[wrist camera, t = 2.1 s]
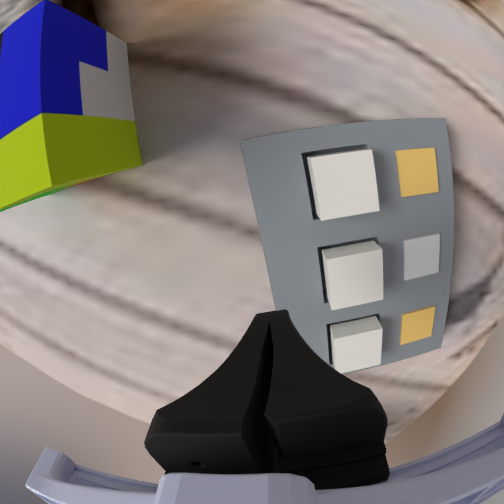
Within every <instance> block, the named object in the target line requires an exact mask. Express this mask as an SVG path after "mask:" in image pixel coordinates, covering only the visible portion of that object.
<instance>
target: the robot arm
mask: <svg viewBox="0 0 504 504" xmlns="http://www.w3.org/2000/svg"><path fill="white" fill-rule="evenodd" d="M386 429H387V416H386V414H385V411H384V409H383V407H382V406H381V404H380V402H379V401H378V399H377V397H376V396H375V395H374V393H373V392H372V390H371V389H370V388H367V387H365V386H363V385H361V384H359V383H356V382H354V381H352V380H351V379H349V378H347V377H346V376H344V375H342V374H341V373H339V372H338V371H337V370H335V369H334V368H332V367H331V366H330V365H328V364H327V363H326V362H325V361H324V360H323V359H321V358H320V357H319V356H318V355H317V354H316V353H315V352H314V351H313V350H312V349H311V348H310V346H309V345H308V344H307V343H306V342H305V340H304V339H303V338H302V337H301V335H300V334H299V332H298V331H297V329H296V328H295V326H294V324H293V322H292V320H291V318H290V316H289V311H288V310H286V309H283V310H277V311H271V312H265V313H259V314H256V315H255V317H254V319H253V321H252V322H251V324H250V326H249V328H248V329H247V331H246V333H245V334H244V336H243V337H242V339H241V340H240V342H239V343H238V345H237V346H236V348H235V349H234V350H233V352H232V353H231V354H230V355H229V357H228V358H227V359H226V360H225V361H224V363H223V364H222V365H221V366H220V367H219V368H218V369H217V370H216V371H215V372H214V373H213V374H211V375H210V376H209V377H208V378H207V379H206V380H204V381H203V382H202V383H201V384H200V385H198V386H197V387H196V388H194V389H193V390H191V391H190V392H188V393H187V394H185V395H184V396H182V397H181V398H179V399H177V400H175V401H174V402H172V403H170V404H168V405H166V406H164V407H162V408H160V409H158V410H157V411H156V413H155V415H154V417H153V419H152V422H151V425H150V428H149V430H148V433H147V436H146V439H145V442H144V443H145V448H146V449H147V450H148V452H149V453H150V455H151V456H152V457H153V458H154V459H155V460H156V461H157V462H158V463H159V465H161V467H162V468H163V469H164V470H166V472H165V475H164V476H163V477H161V478H160V481H159V484H155V483H149V482H144V481H138V480H133V479H128V478H124V477H119V476H115V475H111V474H107V473H103V472H100V471H96V470H93V469H89V468H86V467H83V466H80V465H76V464H75V462H74V461H73V460H72V459H71V458H69V457H68V456H67V455H65V454H64V453H62V452H59V451H57V450H54V449H51V448H48V447H46V448H45V449H44V451H43V453H42V455H41V457H40V458H39V460H38V462H37V464H36V465H35V467H34V469H33V471H32V473H31V475H30V477H29V478H28V480H27V482H26V487H27V488H28V489H30V490H31V491H32V492H33V493H35V494H36V495H37V496H39V497H40V498H42V499H43V500H44V501H46V502H47V503H49V504H480V503H482V502H483V501H485V500H487V499H488V498H490V497H491V496H493V495H495V494H496V493H498V492H499V491H501V490H502V489H504V414H503V416H502V418H501V421H499V422H498V423H496V424H494V425H492V426H490V427H489V428H487V429H485V430H483V431H481V432H479V433H477V434H476V435H473V436H472V437H469V438H467V439H465V440H463V441H461V442H459V443H457V444H455V445H452V446H450V447H448V448H445V449H443V450H441V451H438V452H436V453H433V454H431V455H428V456H425V457H423V458H420V459H417V460H415V461H412V462H409V463H406V464H403V465H400V466H396V467H393V468H390V469H389V467H388V463H387V460H386V456H385V453H386V448H385V444H384V437H385V433H386Z"/></svg>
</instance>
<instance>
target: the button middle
mask: <svg viewBox="0 0 504 504" xmlns="http://www.w3.org/2000/svg"><path fill="white" fill-rule="evenodd" d="M322 256H323V264H324V272H325V280H326V289H327V298H328V301H329V304H330V307H331V309H332V310H336V309H341V308H346V307H351V306H356V305H361V304H366V303H370V302H375V301H379V300H383V254H382V248H381V247H380V246H379V245H378V244H377V243H376V242H375V241H374V240H373V241H367V242H362V243H357V244H351V245H346V246H340V247H335V248H329V249H324V250H322Z"/></svg>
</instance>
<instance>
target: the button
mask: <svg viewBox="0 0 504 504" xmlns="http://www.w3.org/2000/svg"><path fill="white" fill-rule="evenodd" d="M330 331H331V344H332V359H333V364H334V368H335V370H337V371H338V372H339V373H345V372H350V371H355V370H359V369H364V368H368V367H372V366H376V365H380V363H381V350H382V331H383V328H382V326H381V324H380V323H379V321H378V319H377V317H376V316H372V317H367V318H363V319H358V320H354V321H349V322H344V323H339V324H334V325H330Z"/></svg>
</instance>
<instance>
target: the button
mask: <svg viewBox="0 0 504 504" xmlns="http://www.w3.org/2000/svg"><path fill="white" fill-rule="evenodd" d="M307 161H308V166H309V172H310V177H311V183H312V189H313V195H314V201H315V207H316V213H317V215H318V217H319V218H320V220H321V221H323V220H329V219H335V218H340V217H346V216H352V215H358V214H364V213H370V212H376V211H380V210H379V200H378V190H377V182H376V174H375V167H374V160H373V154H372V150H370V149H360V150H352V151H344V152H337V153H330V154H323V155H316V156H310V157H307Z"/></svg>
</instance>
